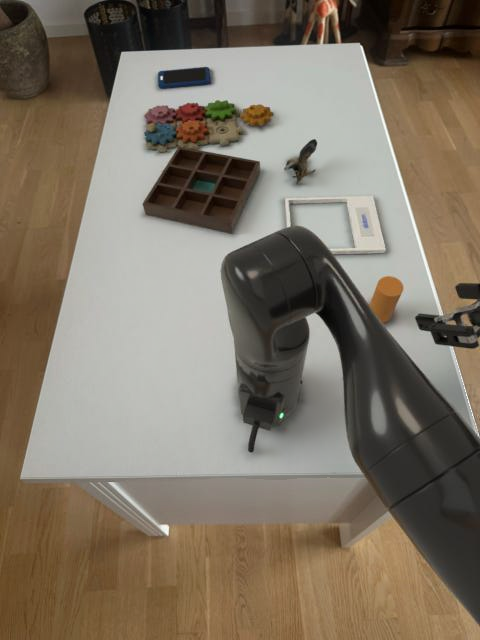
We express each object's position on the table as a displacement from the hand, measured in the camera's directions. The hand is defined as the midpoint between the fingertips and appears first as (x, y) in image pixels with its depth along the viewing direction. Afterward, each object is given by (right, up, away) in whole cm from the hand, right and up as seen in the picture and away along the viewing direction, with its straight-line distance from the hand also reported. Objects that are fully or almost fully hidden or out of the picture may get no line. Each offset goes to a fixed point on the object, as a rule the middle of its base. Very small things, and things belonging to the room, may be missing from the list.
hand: (438, 305), depth 63 cm
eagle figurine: (-15, +30, +34) cm, 48 cm away
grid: (-36, +25, +31) cm, 54 cm away
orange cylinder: (-4, -1, +14) cm, 14 cm away
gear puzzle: (-36, +44, +44) cm, 72 cm away
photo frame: (-10, +17, +25) cm, 31 cm away
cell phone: (-43, +63, +56) cm, 94 cm away
